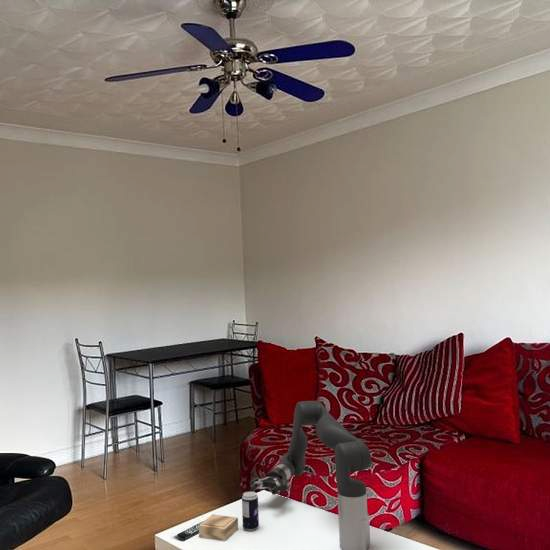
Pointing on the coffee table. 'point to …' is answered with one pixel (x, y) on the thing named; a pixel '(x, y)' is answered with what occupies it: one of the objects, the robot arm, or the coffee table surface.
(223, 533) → the base block
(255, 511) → the beverage can
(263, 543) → the coffee table surface
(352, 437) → the robot arm
